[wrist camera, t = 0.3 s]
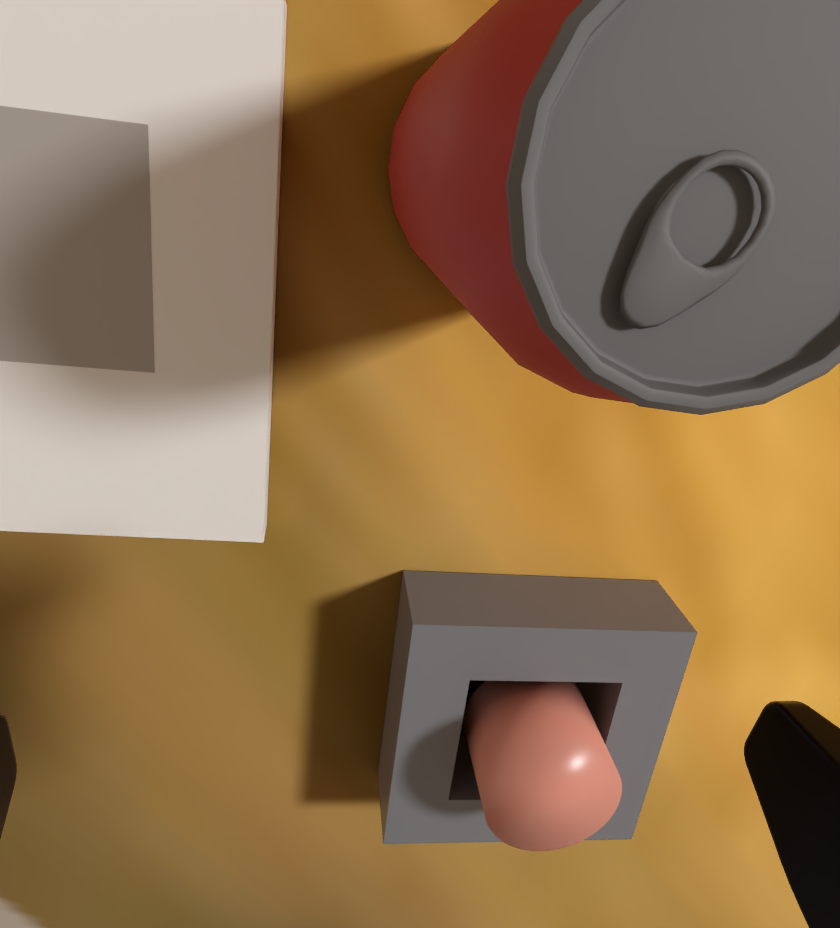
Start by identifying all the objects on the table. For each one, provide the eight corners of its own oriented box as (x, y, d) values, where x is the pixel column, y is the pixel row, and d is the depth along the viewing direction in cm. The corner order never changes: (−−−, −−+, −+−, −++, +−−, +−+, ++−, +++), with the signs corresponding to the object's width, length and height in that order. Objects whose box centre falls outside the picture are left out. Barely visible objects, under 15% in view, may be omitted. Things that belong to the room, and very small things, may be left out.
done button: (570, 760, 26) (605, 849, 22) (455, 761, 25) (474, 852, 22) (594, 666, 24) (636, 746, 21) (473, 663, 23) (495, 746, 20)
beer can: (336, 198, 19) (347, 251, 8) (492, -34, 17) (773, -369, 6) (521, 340, 21) (731, 537, 10) (675, 146, 19) (1125, 128, 8)
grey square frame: (602, 773, 28) (631, 839, 26) (377, 774, 27) (383, 844, 24) (657, 580, 25) (697, 632, 22) (403, 570, 24) (412, 624, 21)
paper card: (266, 523, 22) (263, 542, 21) (-157, 503, 21) (-185, 522, 19) (286, 6, 17) (283, -5, 16) (-282, -84, 15) (-330, -103, 14)
